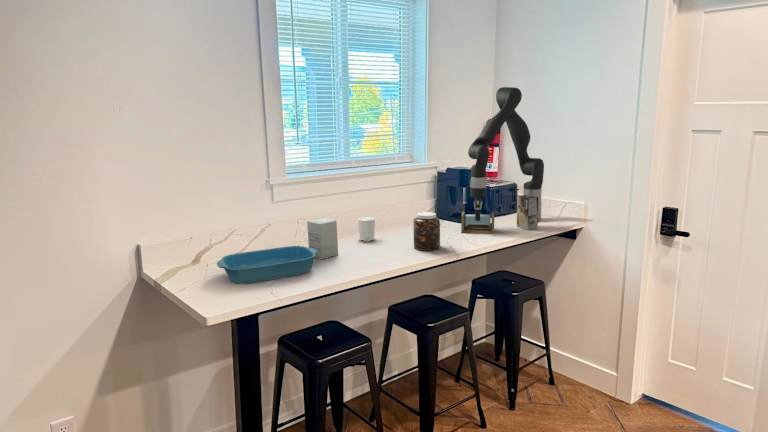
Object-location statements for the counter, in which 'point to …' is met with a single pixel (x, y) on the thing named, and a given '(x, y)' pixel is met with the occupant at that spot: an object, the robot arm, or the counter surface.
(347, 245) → the counter surface
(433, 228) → the jar
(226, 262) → the casserole dish
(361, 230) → the white cup
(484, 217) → the light teal block
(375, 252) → the counter surface
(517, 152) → the robot arm
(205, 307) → the counter surface
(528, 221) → the coffee box
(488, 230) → the shelf rack
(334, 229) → the supplement box
